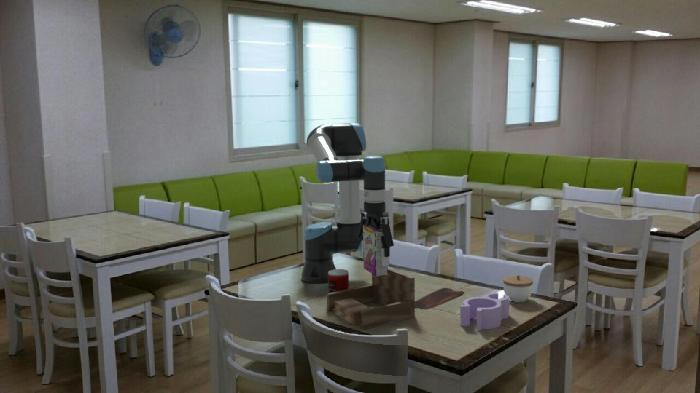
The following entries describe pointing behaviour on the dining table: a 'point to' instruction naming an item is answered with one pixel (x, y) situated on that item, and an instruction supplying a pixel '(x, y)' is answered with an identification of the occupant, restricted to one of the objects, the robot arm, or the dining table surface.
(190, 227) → the dining table surface
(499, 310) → the clip
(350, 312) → the offcut upper
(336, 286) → the canned food
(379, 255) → the candy bar box
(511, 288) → the lidded jar
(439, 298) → the wooden tablet
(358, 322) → the offcut lower
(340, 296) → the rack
